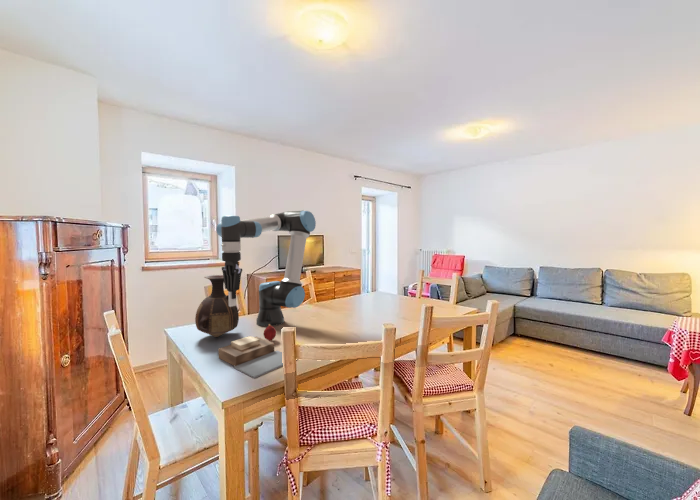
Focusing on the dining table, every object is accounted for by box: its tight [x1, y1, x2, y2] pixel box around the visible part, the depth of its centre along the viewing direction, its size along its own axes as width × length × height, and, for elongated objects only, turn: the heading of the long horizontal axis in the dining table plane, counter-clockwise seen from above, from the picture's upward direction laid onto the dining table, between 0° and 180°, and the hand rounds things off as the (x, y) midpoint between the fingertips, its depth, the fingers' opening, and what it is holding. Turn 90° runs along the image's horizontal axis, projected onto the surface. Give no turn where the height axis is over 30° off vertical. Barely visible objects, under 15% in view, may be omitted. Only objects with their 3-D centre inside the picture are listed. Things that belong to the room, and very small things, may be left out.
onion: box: [263, 324, 277, 342], centre depth 144 cm, size 6×6×8 cm
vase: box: [194, 274, 240, 338], centre depth 150 cm, size 23×19×30 cm
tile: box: [230, 335, 260, 350], centre depth 129 cm, size 9×7×2 cm
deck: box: [217, 336, 275, 367], centre depth 128 cm, size 18×13×4 cm
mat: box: [233, 350, 284, 379], centre depth 120 cm, size 20×13×1 cm, turn 141°
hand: (232, 305), depth 133 cm, fingers closed
